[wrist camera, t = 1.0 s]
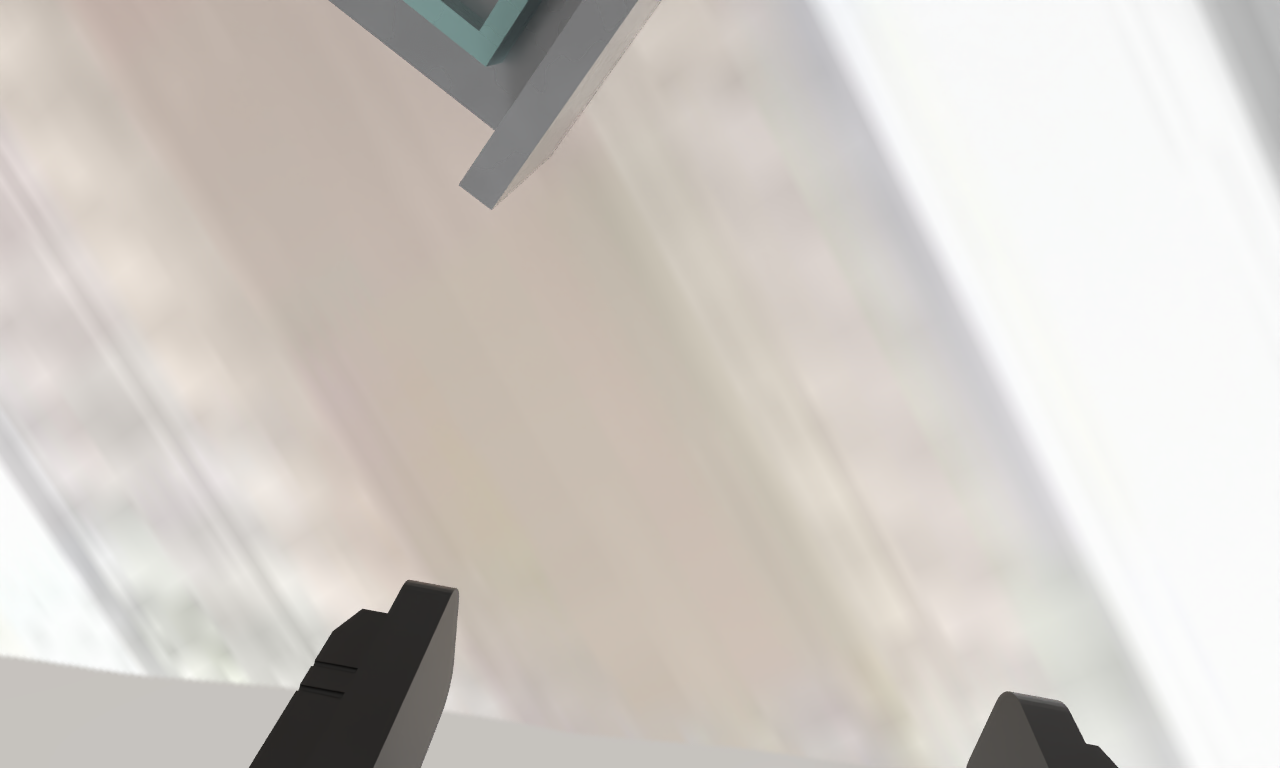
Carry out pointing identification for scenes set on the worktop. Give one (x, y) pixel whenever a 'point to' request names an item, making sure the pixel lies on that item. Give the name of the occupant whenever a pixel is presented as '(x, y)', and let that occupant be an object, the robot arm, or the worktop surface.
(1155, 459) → the worktop surface
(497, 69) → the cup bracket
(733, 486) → the worktop surface
